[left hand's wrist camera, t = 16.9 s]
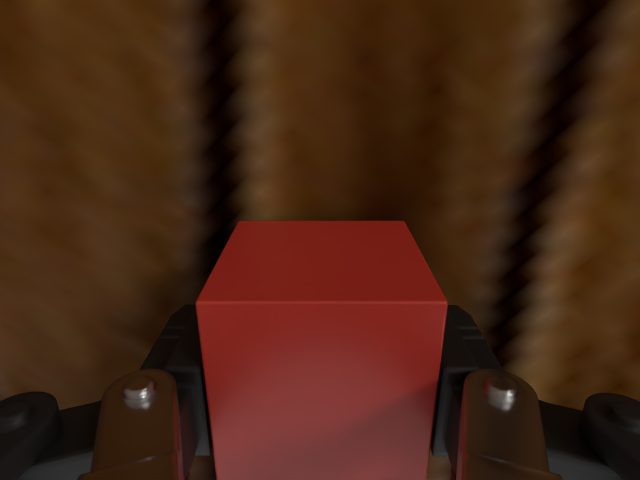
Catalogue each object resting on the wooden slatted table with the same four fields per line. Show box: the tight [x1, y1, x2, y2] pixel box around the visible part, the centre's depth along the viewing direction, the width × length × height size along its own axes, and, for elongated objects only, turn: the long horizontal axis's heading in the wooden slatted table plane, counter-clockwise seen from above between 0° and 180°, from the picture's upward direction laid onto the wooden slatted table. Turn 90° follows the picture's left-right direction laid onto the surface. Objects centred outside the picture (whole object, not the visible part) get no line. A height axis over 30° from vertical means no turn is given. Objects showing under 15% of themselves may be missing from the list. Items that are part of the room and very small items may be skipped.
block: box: [195, 221, 448, 480], centre depth 11 cm, size 4×5×4 cm
